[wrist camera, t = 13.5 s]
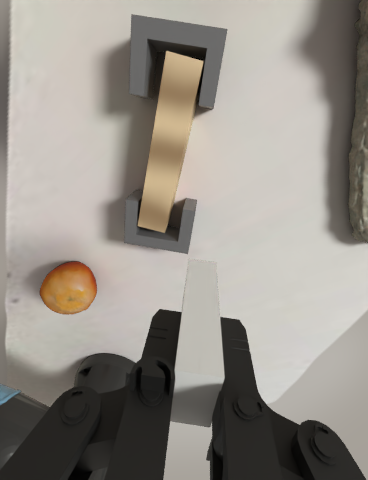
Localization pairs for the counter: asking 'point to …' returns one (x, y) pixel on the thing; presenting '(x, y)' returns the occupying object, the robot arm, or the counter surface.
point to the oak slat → (170, 138)
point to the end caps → (142, 85)
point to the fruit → (69, 288)
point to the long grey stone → (360, 135)
